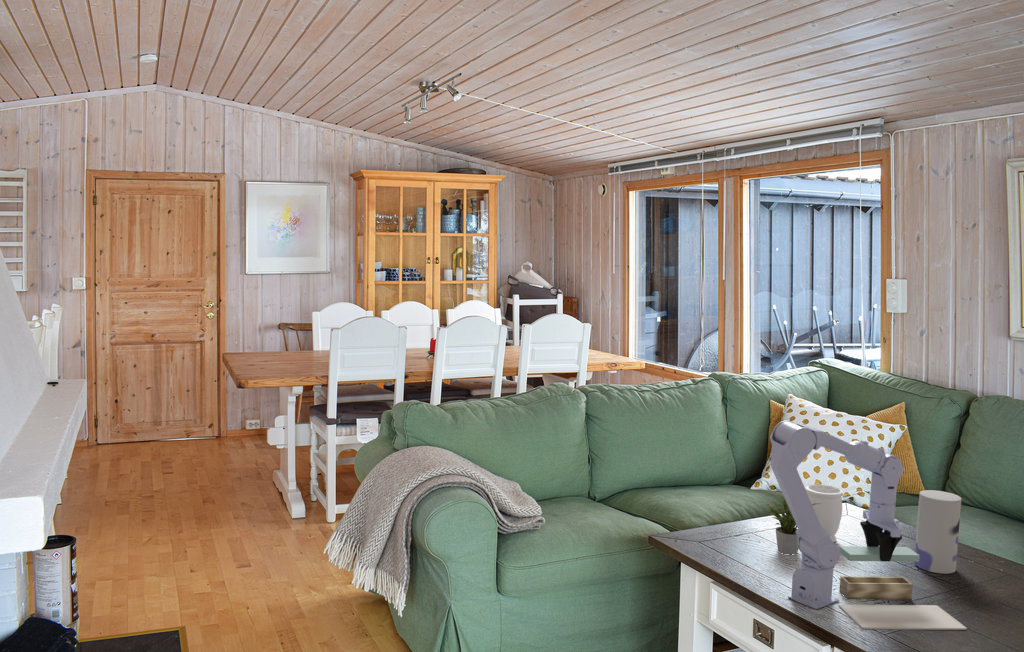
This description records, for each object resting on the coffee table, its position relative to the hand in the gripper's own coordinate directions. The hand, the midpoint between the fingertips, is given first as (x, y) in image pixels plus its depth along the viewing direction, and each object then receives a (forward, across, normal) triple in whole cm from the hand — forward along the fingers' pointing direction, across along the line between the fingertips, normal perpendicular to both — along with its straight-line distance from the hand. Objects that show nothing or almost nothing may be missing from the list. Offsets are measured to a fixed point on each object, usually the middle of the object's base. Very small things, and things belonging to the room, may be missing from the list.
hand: (878, 556), depth 201 cm
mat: (+10, -12, 0) cm, 15 cm away
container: (+10, +20, -26) cm, 34 cm away
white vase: (+10, +41, -4) cm, 43 cm away
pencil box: (+10, 0, 0) cm, 10 cm away
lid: (0, 0, 0) cm, 0 cm away
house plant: (+10, +30, +9) cm, 33 cm away
